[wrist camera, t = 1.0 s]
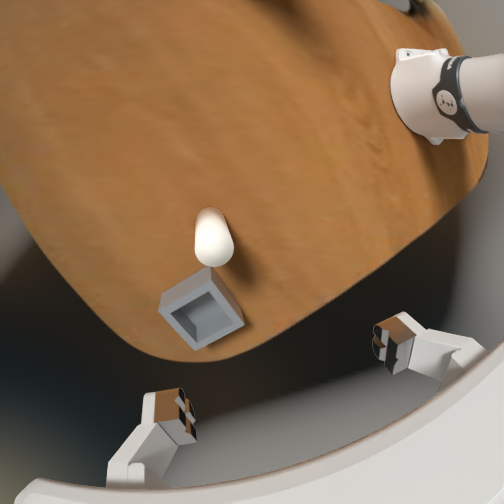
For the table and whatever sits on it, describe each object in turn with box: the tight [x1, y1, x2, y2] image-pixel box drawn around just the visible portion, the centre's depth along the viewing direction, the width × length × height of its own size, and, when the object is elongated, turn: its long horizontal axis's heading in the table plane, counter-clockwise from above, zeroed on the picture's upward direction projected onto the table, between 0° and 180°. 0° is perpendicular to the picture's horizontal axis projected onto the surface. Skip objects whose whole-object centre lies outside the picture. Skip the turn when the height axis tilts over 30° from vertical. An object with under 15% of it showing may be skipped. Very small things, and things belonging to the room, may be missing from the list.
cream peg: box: [195, 207, 234, 267], centre depth 33 cm, size 4×4×11 cm
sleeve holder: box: [158, 266, 245, 351], centre depth 40 cm, size 9×9×5 cm
